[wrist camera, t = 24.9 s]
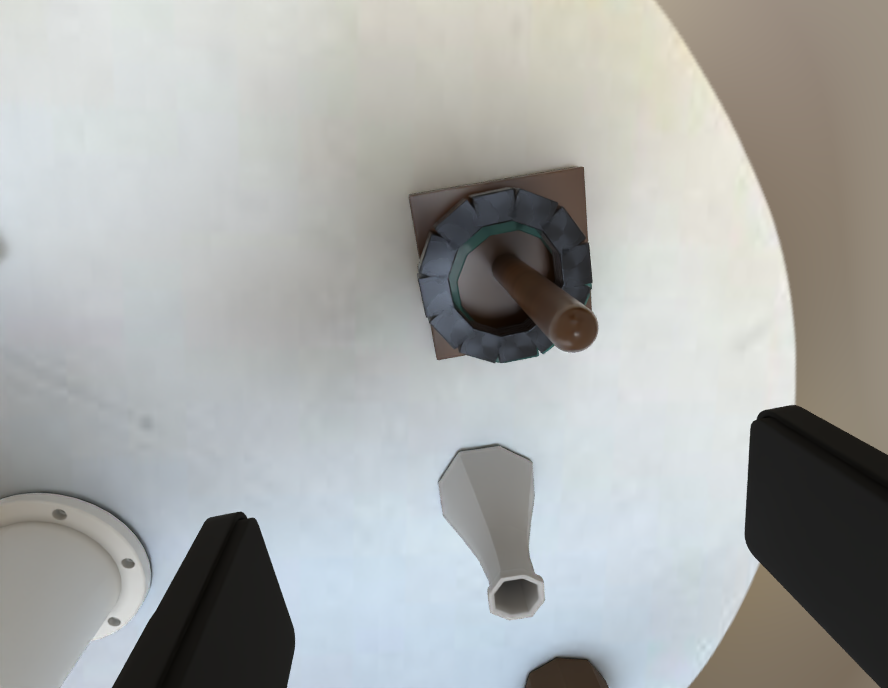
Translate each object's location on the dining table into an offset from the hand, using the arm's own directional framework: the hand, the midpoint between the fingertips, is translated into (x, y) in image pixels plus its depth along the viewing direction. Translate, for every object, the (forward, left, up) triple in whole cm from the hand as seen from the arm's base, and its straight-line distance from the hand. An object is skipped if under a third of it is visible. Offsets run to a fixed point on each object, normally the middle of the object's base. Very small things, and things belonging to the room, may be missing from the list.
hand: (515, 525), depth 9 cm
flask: (+1, -16, -23) cm, 28 cm away
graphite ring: (+4, 0, -20) cm, 20 cm away
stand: (+4, 0, -23) cm, 23 cm away
